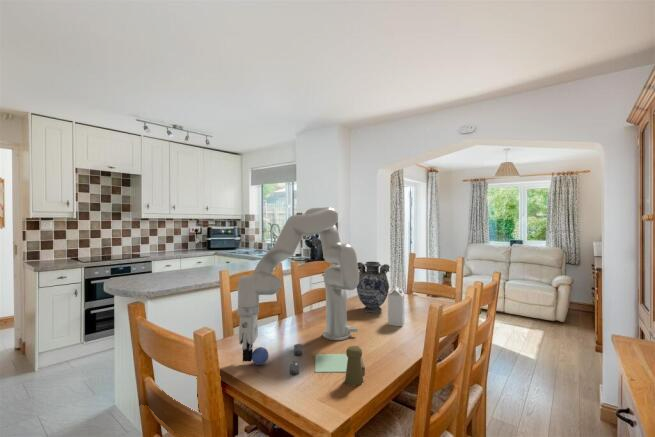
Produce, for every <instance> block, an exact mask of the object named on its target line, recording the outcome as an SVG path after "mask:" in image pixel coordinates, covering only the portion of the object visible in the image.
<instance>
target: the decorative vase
mask: <svg viewBox="0 0 655 437" xmlns="http://www.w3.org/2000/svg"><path fill="white" fill-rule="evenodd" d="M357 263H358V270H359V284H358V286H357V287H356V293H357V296H358V298H359V300H360V302H361V303H362V305H364V307H363V311H364V312H366V311H367V312H366V313H371V312H372V314H373V313H374V314H376V313H375V312H378V313H380V312H382V311H383V309H382V308H381V307H380V306H382V305H383V304H384V303H385V301H386V300H387V298H388V295H389V290H390V283H389V280H388V276H387V273H390V268H391V267H390V265H389V264H387V263H384V264H381V262H379V261H366V263H363V262H357Z"/></svg>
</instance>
